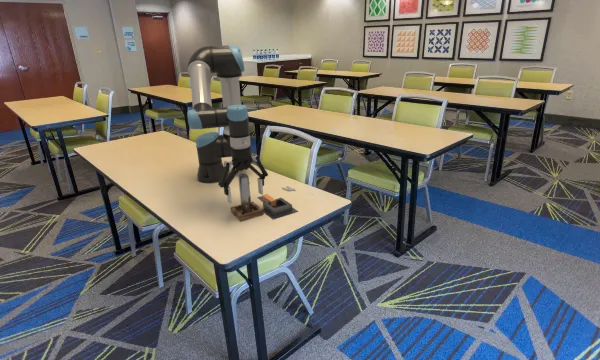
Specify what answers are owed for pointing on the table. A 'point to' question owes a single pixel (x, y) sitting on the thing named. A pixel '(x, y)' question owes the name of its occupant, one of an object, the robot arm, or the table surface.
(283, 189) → the pliers
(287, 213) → the socket
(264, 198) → the orange rectangular bar
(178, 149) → the table surface
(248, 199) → the grey cylindrical peg
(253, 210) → the tray
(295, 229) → the table surface
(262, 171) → the robot arm
